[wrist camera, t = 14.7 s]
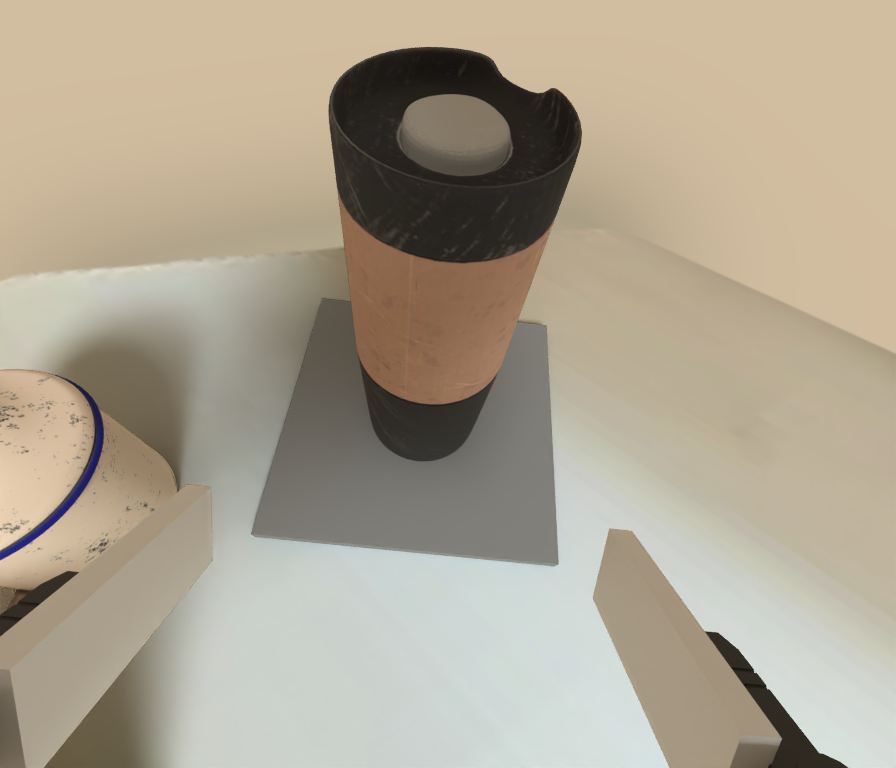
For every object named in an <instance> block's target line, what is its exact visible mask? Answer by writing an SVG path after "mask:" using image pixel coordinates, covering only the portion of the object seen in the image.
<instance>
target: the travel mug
mask: <svg viewBox="0 0 896 768" xmlns="http://www.w3.org/2000/svg"><path fill="white" fill-rule="evenodd" d="M329 124H330V133H331V141H332V149H333V156H334V165H335V173H336V182H337V189H338V198H339V206H340V214H341V222H342V230H343V238H344V247H345V256H346V264H347V272H348V280H349V288H350V297H351V305H352V313H353V321H354V329H355V338H356V346H357V352H358V358H359V363H360V368H361V373H362V378H363V384H364V389H365V394H366V399H367V404H368V409H369V414H370V418H371V422H372V426H373V429H374V431H375V433H376V435H377V437H378V438H379V440H380V441H381V442H382V443H383V445H384V446H385V447H387V448H388V449H389V450H390V451H392V452H393V453H394V454H396V455H398V456H400V457H403V458H405V459H409V460H413V461H421V462H422V461H434V460H438V459H441V458H444V457H446V456H449V455H450V454H452V453H454V452H455V451H456V450H458V449H459V448H460V447H461V446H462V445H463V444H464V443H465V441H466V440H467V438H468V437H469V435H470V433H471V431H472V429H473V427H474V425H475V423H476V421H477V419H478V416H479V414H480V412H481V410H482V407H483V405H484V403H485V401H486V399H487V396H488V394H489V392H490V390H491V387H492V385H493V383H494V381H495V378H496V376H497V374H498V372H499V369H500V367H501V365H502V362H503V359H504V357H505V354H506V351H507V348H508V346H509V343H510V340H511V337H512V335H513V332H514V329H515V326H516V324H517V321H518V318H519V316H520V313H521V310H522V307H523V305H524V302H525V299H526V296H527V294H528V291H529V288H530V285H531V283H532V280H533V277H534V275H535V272H536V269H537V266H538V264H539V261H540V258H541V255H542V253H543V250H544V247H545V245H546V242H547V239H548V236H549V234H550V231H551V228H552V225H553V223H554V220H555V217H556V214H557V212H558V209H559V206H560V204H561V201H562V198H563V195H564V193H565V190H566V187H567V184H568V182H569V179H570V176H571V174H572V171H573V168H574V165H575V162H576V159H577V156H578V153H579V149H580V145H581V136H582V130H581V124H580V120H579V117H578V115H577V112H576V110H575V109H574V107H573V105H572V104H571V102H570V101H569V100H568V99H567V97H566V96H564V94H563V93H561V92H560V91H559V90H557V89H555V88H551V89H549V90H548V91H546V92H544V93H534V92H530V91H527V90H525V89H523V88H520V87H518V86H517V85H515V84H513V83H511V82H510V81H508V80H507V79H506V78H504V77H503V76H502V74H501V73H500V72H499V71H498V68H497V66H496V65H495V63H494V61H493V60H492V59H491V58H489V57H488V56H486V55H483V54H481V53H477V52H473V51H469V50H462V49H455V48H443V47H421V48H420V47H419V48H408V49H400V50H395V51H390V52H386V53H382V54H379V55H376V56H373V57H371V58H368V59H365V60H364V61H362V62H360V63H358V64H356V65H354V66H353V67H352V68H350V69H349V70H347V71H346V72H345V73H344V74H343V75H342V76H341V77H340V78H339V80H338V81H337V82H336V84H335V86H334V88H333V90H332V93H331V96H330V101H329Z"/></svg>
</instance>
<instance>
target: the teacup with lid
mask: <svg viewBox="0 0 896 768" xmlns="http://www.w3.org/2000/svg"><path fill="white" fill-rule="evenodd" d="M176 493H177V484H176V479H175V476H174V473H173V471H172V469H171V467H170V466H169V464H168V463H167V461H166V460H165V459H164V458H163V457H162V456H161V455H160V454H159V453H157V452H156V451H155V450H153V449H152V448H151V447H149V446H148V445H147V444H145V443H144V442H143V441H141V440H140V439H139V438H138V437H136V436H135V435H134V434H132V433H131V432H130V431H128V430H127V429H126V428H124V427H123V426H122V425H120V424H119V423H118V422H116V421H115V420H114V419H113V418H111V417H110V416H109V415H107V414H106V413H105V412H103V411H102V410H101V409H99V408H98V406H97V404H96V403H95V401H94V400H93V398H92V397H91V396H90V395H89V394H88V393H87V392H86V391H85V390H84V389H83V388H81V387H80V386H78V385H77V384H75V383H74V382H72V381H70V380H68V379H65V378H63V377H60V376H57V375H52V374H49V373H45V372H41V371H34V370H22V369H5V370H0V587H8V588H15V589H16V593H15V595H14V597H13V599H12V601H11V603H10V605H9V607H8V609H9V608H10V607H11V606H13V605H17V603H18V601H19V600H20V599H22V598H23V597H24V596H26V595H27V594H28V593H30V592H31V591H32V590H34V589H35V588H36V587H37V586H39V585H40V584H42V583H44V582H46V581H48V580H50V579H52V578H54V577H56V576H58V575H60V574H62V573H64V572H66V571H74V572H80V571H81V570H83V569H84V568H85V567H86V566H88V565H89V564H90V563H91V562H92V561H94V560H95V559H96V558H97V557H99V556H100V555H101V554H102V553H104V552H105V551H106V550H107V549H108V548H110V547H111V546H112V545H113V544H115V543H116V542H117V541H118V540H119V539H121V538H122V537H123V536H124V535H126V534H127V533H128V532H129V531H131V530H132V529H133V528H134V527H135V526H137V525H138V524H139V523H140V522H142V521H143V520H144V519H145V518H146V517H148V516H149V515H150V514H151V513H153V512H154V511H155V510H156V509H158V508H159V507H160V506H161V505H162V504H164V503H165V502H166V501H167V500H169V499H170V498H171V497H172V496H173V495H175V494H176Z"/></svg>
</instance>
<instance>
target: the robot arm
mask: <svg viewBox="0 0 896 768" xmlns="http://www.w3.org/2000/svg"><path fill="white" fill-rule="evenodd" d="M211 562H212V503H211V487H208V486H198V485H189V484H187V485H186V486H185V487H183V488H182V489H181V490H180V491H178V492H177V493H176V494H175V495H173V496H172V497H171V498H170V499H169V500H167V501H166V502H165V503H164V504H162V505H161V506H160V507H159V508H158V509H156V510H155V511H154V512H153V513H151V514H150V515H149V516H148V517H146V518H145V519H144V520H143V521H142V522H140V523H139V524H138V525H137V526H135V527H134V528H133V529H132V530H131V531H129V532H128V533H127V534H126V535H124V536H123V537H122V538H121V539H119V540H118V541H117V542H116V543H115V544H113V545H112V546H111V547H110V548H108V549H107V550H106V551H105V552H104V553H102V554H101V555H100V556H99V557H97V558H96V559H95V560H94V561H92V562H91V563H90V564H89V565H88V566H86V567H85V568H84V569H83V570H81V571H80V572H74V571H66V572H64V573H62V574H60V575H58V576H56V577H54V578H52V579H50V580H48V581H46V582H44V583H42V584H40V585H39V586H37V587H36V588H35V589H34V590H32V591H31V592H30V593H28V594H27V595H26V596H24V597H23V598H22V599H20V600H19V601H18V603H17V605H13V606H11V607H10V608H9V609H7V610H6V611H5V612H4V613H2V614H1V615H0V768H44V767H45V766H46V764H47V763H48V762H49V761H50V760H51V758H52V757H53V756H54V755H55V753H56V752H57V751H58V750H59V748H60V747H61V746H62V745H63V744H64V742H65V741H66V740H67V739H68V737H69V736H70V735H71V734H72V732H73V731H74V730H75V729H76V728H77V726H78V725H79V724H80V723H81V721H82V720H83V719H84V718H85V716H86V715H87V714H88V713H89V712H90V710H91V709H92V708H93V707H94V705H95V704H96V703H97V702H98V701H99V699H100V698H101V697H102V696H103V694H104V693H105V692H106V691H107V689H108V688H109V687H110V686H111V685H112V683H113V682H114V681H115V680H116V678H117V677H118V676H119V675H120V673H121V672H122V671H123V670H124V669H125V667H126V666H127V665H128V664H129V662H130V661H131V660H132V659H133V658H134V656H135V655H136V654H137V653H138V651H139V650H140V649H141V648H142V646H143V645H144V644H145V643H146V642H147V640H148V639H149V638H150V637H151V635H152V634H153V633H154V632H155V630H156V629H157V628H158V627H159V626H160V624H161V623H162V622H163V621H164V619H165V618H166V617H167V616H168V614H169V613H170V612H171V611H172V610H173V608H174V607H175V606H176V605H177V603H178V602H179V601H180V600H181V599H182V597H183V596H184V595H185V594H186V592H187V591H188V590H189V589H190V587H191V586H192V585H193V584H194V583H195V581H196V580H197V579H198V578H199V576H200V575H201V574H202V573H203V571H204V570H205V569H206V568H207V567H208V565H209V564H210V563H211ZM593 600H594V602H595V604H596V606H597V609H598V611H599V613H600V615H601V617H602V620H603V622H604V624H605V626H606V628H607V631H608V633H609V635H610V637H611V639H612V642H613V644H614V646H615V648H616V650H617V653H618V655H619V657H620V659H621V661H622V664H623V666H624V668H625V670H626V673H627V675H628V677H629V679H630V681H631V684H632V686H633V688H634V690H635V692H636V695H637V697H638V699H639V701H640V703H641V706H642V708H643V710H644V712H645V714H646V717H647V719H648V721H649V723H650V725H651V728H652V730H653V732H654V734H655V737H656V739H657V741H658V743H659V745H660V748H661V750H662V752H663V754H664V756H665V759H666V761H667V763H668V765H669V767H670V768H848V767H846V766H845V765H844V764H842V763H841V762H839V761H837V760H835V759H833V758H831V757H829V756H826V755H824V754H820V753H818V751H817V750H816V749H815V747H814V746H813V745H812V744H811V742H810V741H809V740H808V738H807V737H806V736H805V735H804V733H803V732H802V731H801V729H800V728H799V727H798V726H797V724H796V723H795V722H794V720H793V719H792V718H791V717H790V715H789V714H788V713H787V711H786V710H785V709H784V708H783V706H782V705H781V704H780V702H779V701H778V700H777V699H776V697H775V696H774V695H773V693H772V692H771V691H770V690H767V688H766V684H765V683H764V682H763V681H762V679H761V678H760V677H759V675H758V674H757V673H754V669H753V668H752V666H751V665H750V664H749V663H748V661H747V660H746V659H745V658H744V656H743V655H742V654H741V652H740V651H739V650H738V649H737V648H736V647H735V646H733V645H732V644H731V643H730V642H729V641H727V640H726V639H725V638H724V637H723V636H721V635H720V634H719V633H716V632H706V631H704V630H703V629H702V627H701V626H700V624H699V623H698V622H697V620H696V619H695V617H694V616H693V615H692V613H691V612H690V611H689V609H688V608H687V606H686V605H685V604H684V602H683V601H682V600H681V598H680V597H679V595H678V594H677V593H676V591H675V590H674V588H673V587H672V586H671V584H670V583H669V582H668V580H667V579H666V577H665V576H664V575H663V573H662V572H661V570H660V569H659V568H658V566H657V565H656V564H655V562H654V561H653V559H652V558H651V557H650V555H649V554H648V553H647V551H646V550H645V548H644V547H643V546H642V544H641V543H640V541H639V540H638V539H637V537H636V536H635V535H634V533H633V532H632V531H628V530H618V529H609V532H608V537H607V541H606V545H605V549H604V553H603V557H602V562H601V566H600V570H599V574H598V578H597V582H596V587H595V591H594V595H593Z"/></svg>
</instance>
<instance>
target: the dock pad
mask: <svg viewBox="0 0 896 768" xmlns="http://www.w3.org/2000/svg"><path fill="white" fill-rule="evenodd" d="M251 534H252V535H253V536H255V537H263V538H273V539H283V540H294V541H304V542H314V543H324V544H334V545H344V546H354V547H364V548H375V549H385V550H395V551H405V552H415V553H425V554H435V555H445V556H456V557H466V558H476V559H486V560H496V561H506V562H516V563H526V564H537V565H547V566H556V565H558V545H557V525H556V505H555V485H554V465H553V445H552V425H551V405H550V386H549V366H548V346H547V326H546V325H539V324H531V323H523V322H517V324H516V326H515V329H514V332H513V335H512V337H511V340H510V343H509V346H508V348H507V351H506V354H505V357H504V359H503V362H502V365H501V367H500V369H499V372H498V374H497V376H496V378H495V381H494V383H493V385H492V387H491V390H490V392H489V394H488V396H487V399H486V401H485V403H484V405H483V407H482V410H481V412H480V414H479V416H478V419H477V421H476V423H475V425H474V427H473V429H472V431H471V433H470V435H469V437H468V438H467V440H466V441H465V443H464V444H463V445H462V446H461V447H460V448H459V449H458V450H456V451H455V452H454V453H452V454H450V455H449V456H446V457H444V458H441V459H438V460H434V461H422V462H421V461H413V460H409V459H405V458H403V457H400V456H398V455H396V454H394V453H393V452H392V451H390V450H389V449H388V448H387V447H385V446H384V445H383V443H382V442H381V441H380V440H379V438H378V437H377V435H376V433H375V431H374V429H373V426H372V422H371V418H370V414H369V409H368V404H367V399H366V394H365V389H364V384H363V378H362V373H361V368H360V363H359V358H358V352H357V346H356V338H355V329H354V321H353V313H352V305H351V302H349V301H341V300H333V299H325V298H322V300H321V304H320V307H319V310H318V314H317V317H316V320H315V324H314V327H313V330H312V333H311V337H310V340H309V343H308V347H307V350H306V353H305V357H304V360H303V363H302V367H301V370H300V373H299V377H298V380H297V383H296V387H295V390H294V393H293V396H292V400H291V403H290V406H289V410H288V413H287V416H286V420H285V423H284V426H283V430H282V433H281V436H280V440H279V443H278V446H277V449H276V453H275V456H274V459H273V463H272V466H271V469H270V473H269V476H268V479H267V483H266V486H265V489H264V493H263V496H262V499H261V503H260V506H259V509H258V512H257V516H256V519H255V522H254V526H253V529H252V532H251Z"/></svg>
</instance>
